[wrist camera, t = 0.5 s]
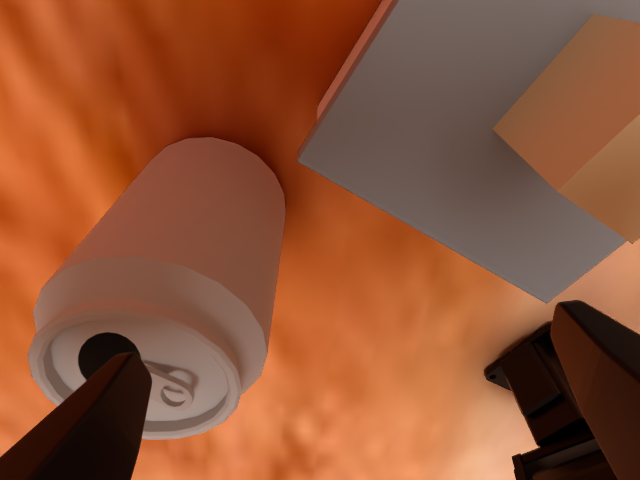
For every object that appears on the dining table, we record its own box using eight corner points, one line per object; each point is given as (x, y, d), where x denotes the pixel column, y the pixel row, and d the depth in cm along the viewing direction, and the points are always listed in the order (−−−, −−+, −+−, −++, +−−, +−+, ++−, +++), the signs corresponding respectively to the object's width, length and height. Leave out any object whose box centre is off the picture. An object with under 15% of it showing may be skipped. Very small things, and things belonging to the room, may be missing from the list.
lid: (860, 25, 13) (1158, 60, 8) (536, 288, 19) (604, 390, 14) (596, -327, 9) (887, -632, 4) (298, 150, 15) (289, 231, 11)
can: (163, 105, 19) (-4, 257, 9) (309, 165, 21) (300, 348, 11) (135, 226, 23) (-4, 426, 13) (259, 269, 25) (220, 473, 15)
